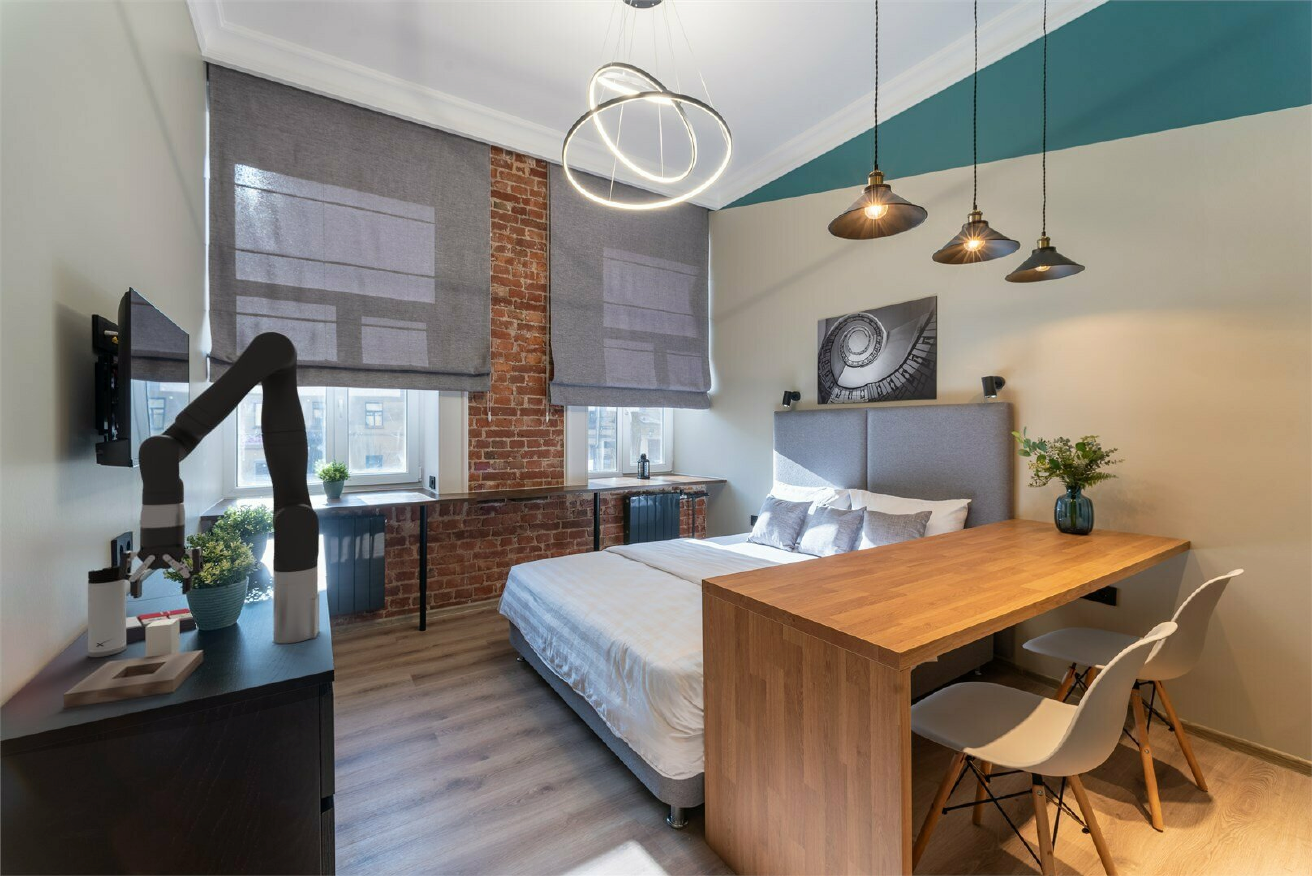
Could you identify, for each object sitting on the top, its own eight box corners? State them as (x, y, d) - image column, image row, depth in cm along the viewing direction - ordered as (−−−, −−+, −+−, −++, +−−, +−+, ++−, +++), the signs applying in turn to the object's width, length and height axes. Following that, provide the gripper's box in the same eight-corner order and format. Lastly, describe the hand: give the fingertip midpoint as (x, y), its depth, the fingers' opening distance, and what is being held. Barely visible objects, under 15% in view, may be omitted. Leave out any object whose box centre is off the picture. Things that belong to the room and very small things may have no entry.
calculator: (198, 615, 144) (118, 627, 132) (197, 631, 144) (117, 645, 132) (189, 606, 151) (113, 617, 139) (188, 622, 151) (111, 634, 139)
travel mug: (103, 658, 124) (102, 569, 124) (80, 656, 125) (80, 568, 125) (134, 648, 130) (134, 563, 130) (112, 646, 131) (112, 562, 131)
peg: (179, 652, 127) (179, 618, 127) (171, 659, 123) (171, 624, 123) (154, 655, 125) (154, 620, 125) (145, 663, 121) (145, 627, 121)
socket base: (203, 661, 122) (203, 649, 122) (173, 691, 108) (173, 679, 108) (108, 673, 116) (108, 661, 116) (63, 707, 101) (63, 694, 101)
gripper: (208, 519, 131) (207, 588, 130) (130, 522, 125) (128, 594, 125) (196, 524, 124) (195, 596, 124) (113, 527, 118) (112, 603, 118)
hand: (161, 595), depth 124 cm, fingers open, 8 cm apart
